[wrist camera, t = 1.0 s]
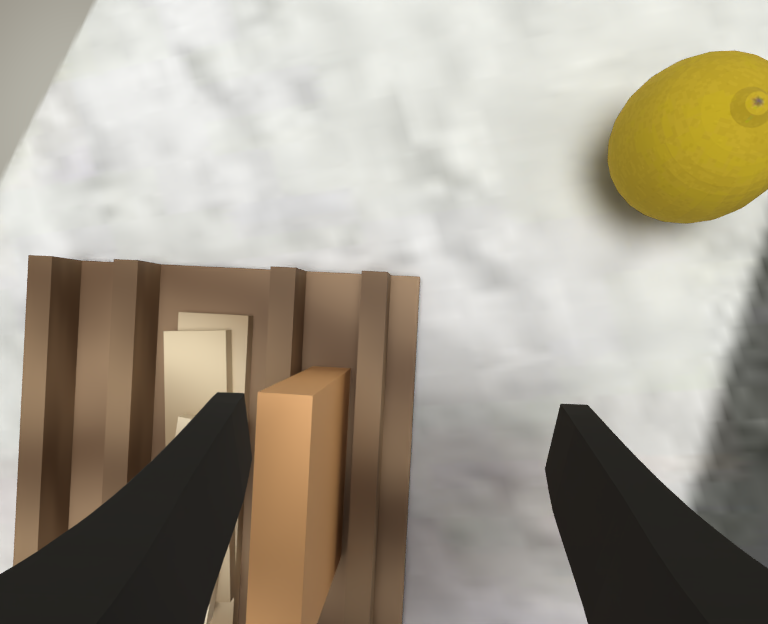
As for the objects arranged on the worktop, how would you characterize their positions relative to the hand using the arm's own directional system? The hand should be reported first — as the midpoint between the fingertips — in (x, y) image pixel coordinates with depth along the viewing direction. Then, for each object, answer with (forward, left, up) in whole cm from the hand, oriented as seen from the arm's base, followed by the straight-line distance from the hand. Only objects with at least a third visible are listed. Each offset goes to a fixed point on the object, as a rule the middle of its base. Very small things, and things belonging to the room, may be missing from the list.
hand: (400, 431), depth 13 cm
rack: (-5, +8, -12) cm, 15 cm away
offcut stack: (-5, +8, -11) cm, 15 cm away
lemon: (+9, -10, -12) cm, 18 cm away
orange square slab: (-4, +3, -11) cm, 12 cm away
